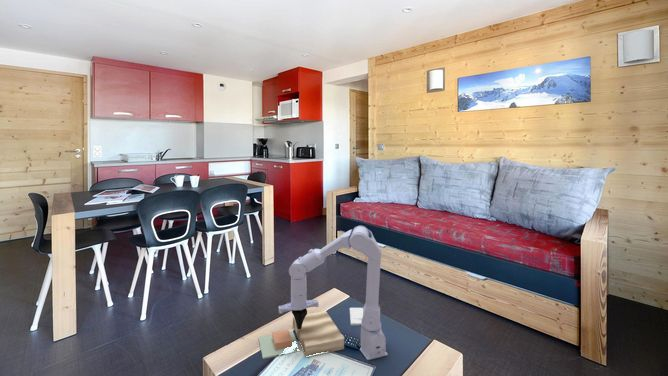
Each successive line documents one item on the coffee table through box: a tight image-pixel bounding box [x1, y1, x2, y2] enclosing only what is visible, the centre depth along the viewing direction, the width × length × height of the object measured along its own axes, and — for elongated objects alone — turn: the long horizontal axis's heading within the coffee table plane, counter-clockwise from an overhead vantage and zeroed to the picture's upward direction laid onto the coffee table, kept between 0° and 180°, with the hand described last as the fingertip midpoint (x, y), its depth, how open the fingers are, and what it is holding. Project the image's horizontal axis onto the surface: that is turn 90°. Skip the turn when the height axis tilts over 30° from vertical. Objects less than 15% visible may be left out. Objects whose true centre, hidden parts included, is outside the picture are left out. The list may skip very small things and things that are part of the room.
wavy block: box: [292, 310, 345, 357], centre depth 117 cm, size 20×14×4 cm
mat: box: [258, 330, 301, 360], centre depth 112 cm, size 12×13×1 cm
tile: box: [271, 329, 292, 350], centre depth 113 cm, size 7×6×2 cm
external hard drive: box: [349, 307, 363, 327], centre depth 132 cm, size 2×8×12 cm
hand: (298, 327), depth 114 cm, fingers closed
